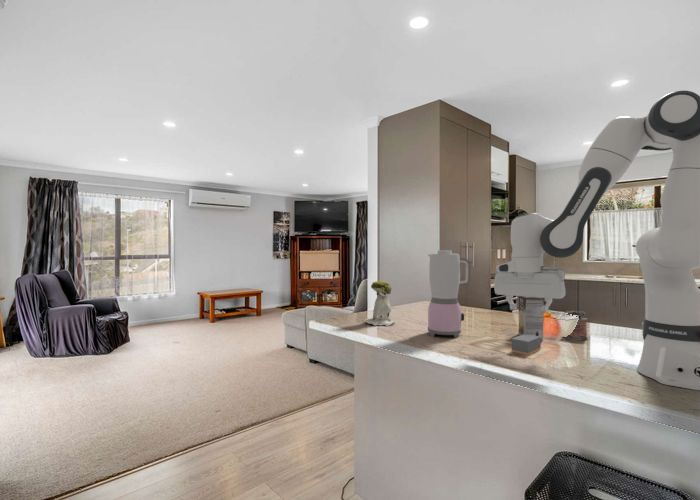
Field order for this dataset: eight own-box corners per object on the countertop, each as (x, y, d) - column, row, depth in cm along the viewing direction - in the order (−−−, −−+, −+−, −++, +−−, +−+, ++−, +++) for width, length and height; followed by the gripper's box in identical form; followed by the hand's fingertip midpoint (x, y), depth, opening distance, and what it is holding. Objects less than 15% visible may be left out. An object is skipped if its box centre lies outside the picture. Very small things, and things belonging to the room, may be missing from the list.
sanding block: (540, 349, 116) (540, 336, 116) (528, 355, 110) (528, 341, 110) (524, 346, 119) (524, 333, 119) (511, 351, 113) (511, 338, 113)
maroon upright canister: (563, 339, 134) (564, 311, 134) (560, 336, 138) (561, 309, 138) (588, 340, 132) (589, 312, 132) (585, 338, 136) (585, 310, 136)
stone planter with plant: (364, 320, 167) (364, 279, 167) (393, 320, 167) (393, 279, 167) (365, 326, 155) (365, 282, 155) (396, 326, 155) (396, 282, 155)
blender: (428, 337, 136) (428, 250, 136) (426, 330, 148) (426, 250, 148) (472, 339, 134) (473, 250, 133) (467, 331, 146) (467, 250, 145)
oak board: (551, 354, 116) (552, 349, 116) (533, 364, 106) (533, 358, 106) (485, 340, 132) (485, 336, 132) (464, 348, 123) (464, 343, 123)
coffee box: (517, 337, 136) (518, 294, 136) (536, 338, 135) (536, 294, 135) (524, 344, 127) (524, 297, 127) (544, 345, 126) (544, 298, 126)
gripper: (568, 265, 108) (569, 313, 108) (500, 265, 124) (501, 306, 124) (560, 267, 104) (562, 316, 104) (491, 266, 119) (492, 309, 119)
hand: (528, 311), depth 114 cm, fingers open, 8 cm apart
